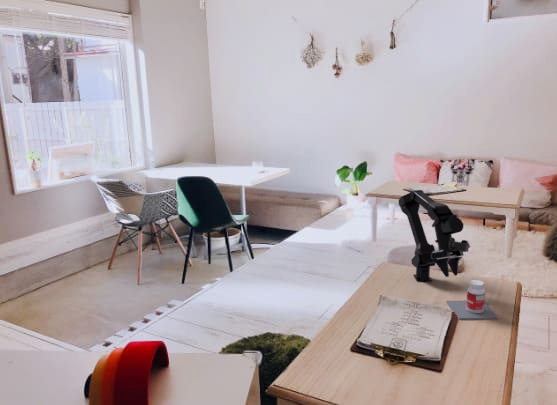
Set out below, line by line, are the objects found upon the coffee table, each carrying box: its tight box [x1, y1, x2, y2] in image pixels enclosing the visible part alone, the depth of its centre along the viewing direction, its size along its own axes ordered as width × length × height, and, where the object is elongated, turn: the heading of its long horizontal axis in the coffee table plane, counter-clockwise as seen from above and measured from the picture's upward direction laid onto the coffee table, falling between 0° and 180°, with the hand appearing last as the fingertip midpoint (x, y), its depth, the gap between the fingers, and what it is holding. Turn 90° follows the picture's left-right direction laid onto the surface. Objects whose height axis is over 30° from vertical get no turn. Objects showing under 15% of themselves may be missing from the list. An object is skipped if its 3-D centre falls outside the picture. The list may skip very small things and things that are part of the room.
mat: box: [446, 299, 499, 321], centre depth 177 cm, size 14×14×1 cm
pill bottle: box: [465, 279, 486, 313], centre depth 174 cm, size 6×6×11 cm
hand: (451, 276), depth 184 cm, fingers open, 9 cm apart
